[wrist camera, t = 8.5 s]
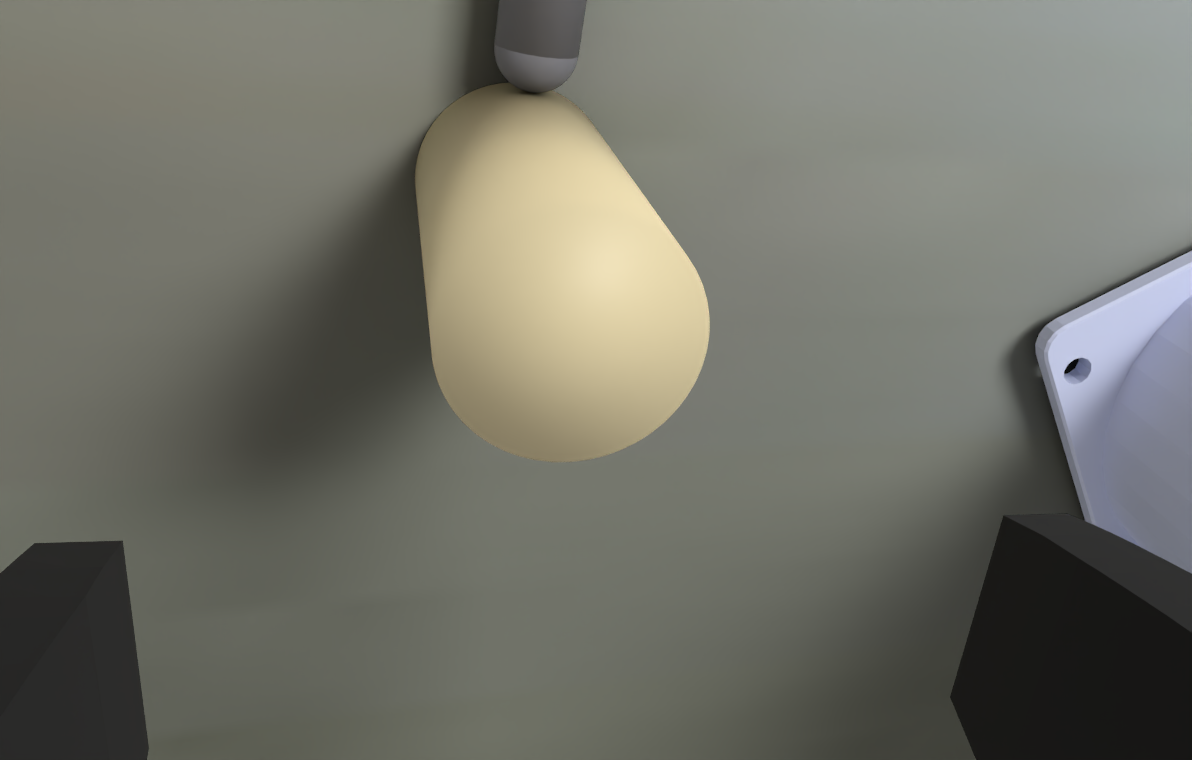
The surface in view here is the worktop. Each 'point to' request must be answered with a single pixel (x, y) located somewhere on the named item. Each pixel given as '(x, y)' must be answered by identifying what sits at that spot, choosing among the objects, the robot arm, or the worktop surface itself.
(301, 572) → the worktop surface
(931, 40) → the worktop surface
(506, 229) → the grey rod with ends
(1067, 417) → the robot arm
